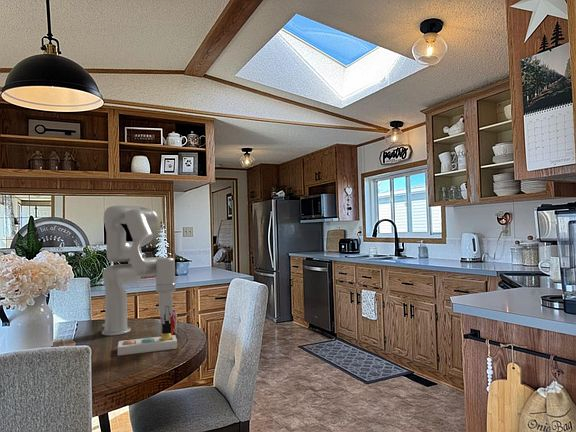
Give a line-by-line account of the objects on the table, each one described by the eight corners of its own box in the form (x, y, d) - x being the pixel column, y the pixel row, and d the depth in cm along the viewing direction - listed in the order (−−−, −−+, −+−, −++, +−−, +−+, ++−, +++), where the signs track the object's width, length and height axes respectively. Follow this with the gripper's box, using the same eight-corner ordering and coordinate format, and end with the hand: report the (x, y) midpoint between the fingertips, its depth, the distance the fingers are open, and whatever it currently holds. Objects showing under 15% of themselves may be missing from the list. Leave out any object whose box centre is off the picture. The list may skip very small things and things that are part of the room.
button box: (117, 355, 153) (117, 347, 153) (118, 348, 162) (118, 341, 162) (177, 348, 160) (177, 340, 160) (175, 342, 170) (175, 335, 170)
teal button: (142, 348, 158) (142, 341, 159) (142, 346, 162) (142, 338, 162) (153, 347, 160) (153, 340, 160) (153, 345, 164) (152, 337, 164)
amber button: (161, 343, 161) (161, 336, 161) (160, 341, 165) (160, 333, 165) (171, 342, 162) (171, 335, 163) (170, 340, 166) (170, 332, 166)
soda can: (172, 338, 176) (172, 310, 176) (157, 337, 177) (157, 310, 178) (179, 334, 183) (179, 307, 183) (165, 333, 184) (165, 307, 185)
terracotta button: (123, 351, 156) (123, 343, 156) (123, 348, 160) (123, 340, 160) (134, 349, 157) (134, 342, 158) (134, 347, 161) (134, 339, 161)
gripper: (155, 286, 170) (156, 330, 169) (156, 290, 156) (157, 338, 155) (173, 285, 173) (174, 328, 172) (176, 289, 159) (178, 336, 158)
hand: (166, 333), depth 163 cm, fingers closed
